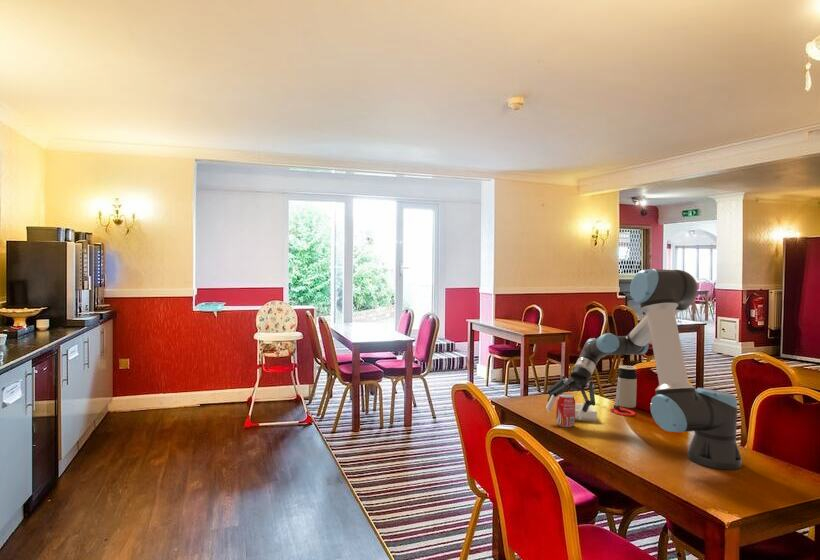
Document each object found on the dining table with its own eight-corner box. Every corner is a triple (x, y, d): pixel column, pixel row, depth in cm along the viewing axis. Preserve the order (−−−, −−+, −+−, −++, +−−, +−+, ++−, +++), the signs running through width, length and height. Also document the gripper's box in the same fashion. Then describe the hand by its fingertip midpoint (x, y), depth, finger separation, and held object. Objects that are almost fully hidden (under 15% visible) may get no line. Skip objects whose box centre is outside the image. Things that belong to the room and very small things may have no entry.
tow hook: (639, 416, 217) (621, 409, 225) (641, 386, 216) (623, 381, 224) (626, 418, 213) (608, 411, 221) (628, 388, 212) (610, 383, 220)
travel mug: (636, 409, 226) (638, 369, 226) (617, 407, 229) (619, 367, 229) (634, 404, 234) (636, 366, 234) (616, 402, 236) (617, 364, 236)
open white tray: (596, 421, 206) (597, 411, 206) (566, 419, 207) (566, 410, 207) (589, 413, 218) (590, 403, 218) (561, 411, 219) (561, 402, 219)
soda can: (559, 421, 205) (560, 392, 204) (576, 425, 201) (577, 395, 200) (553, 425, 199) (554, 395, 199) (571, 429, 195) (572, 398, 195)
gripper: (552, 360, 215) (532, 401, 205) (609, 370, 197) (589, 415, 187) (558, 371, 219) (538, 412, 209) (615, 382, 201) (595, 426, 191)
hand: (562, 413), depth 198 cm, fingers open, 13 cm apart
